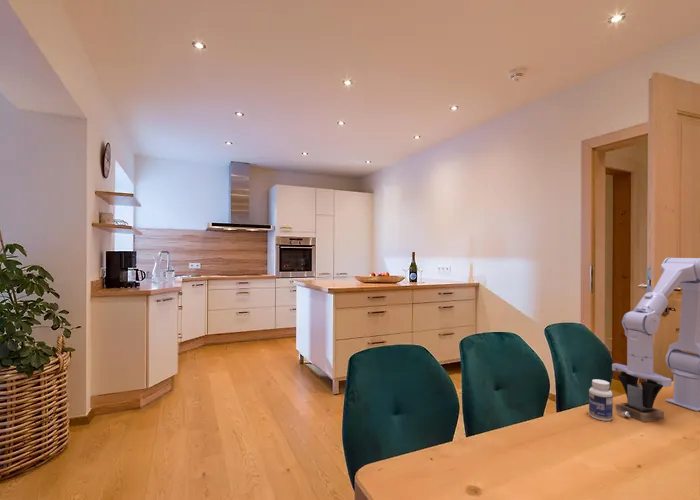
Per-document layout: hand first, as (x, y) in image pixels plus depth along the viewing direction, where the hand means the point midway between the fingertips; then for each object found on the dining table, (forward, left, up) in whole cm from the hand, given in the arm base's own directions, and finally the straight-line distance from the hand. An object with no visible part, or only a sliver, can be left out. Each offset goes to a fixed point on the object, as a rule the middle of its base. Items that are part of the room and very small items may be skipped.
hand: (639, 404), depth 103 cm
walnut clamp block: (+1, 0, -3) cm, 3 cm away
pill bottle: (+12, -2, -3) cm, 13 cm away
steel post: (0, 0, -3) cm, 3 cm away
